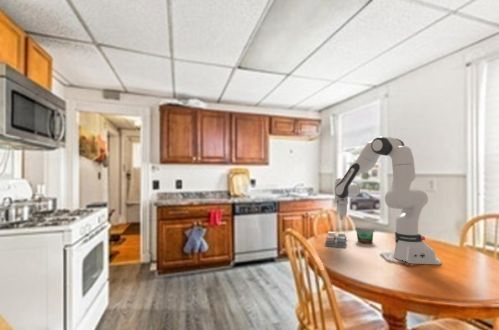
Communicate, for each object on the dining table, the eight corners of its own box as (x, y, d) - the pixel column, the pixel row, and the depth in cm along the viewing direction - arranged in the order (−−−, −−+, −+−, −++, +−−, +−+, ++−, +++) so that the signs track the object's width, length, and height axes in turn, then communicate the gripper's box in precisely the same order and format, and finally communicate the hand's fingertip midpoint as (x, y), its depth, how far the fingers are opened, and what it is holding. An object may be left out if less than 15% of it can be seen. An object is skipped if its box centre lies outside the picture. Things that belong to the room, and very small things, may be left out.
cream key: (334, 235, 196) (334, 231, 196) (334, 236, 192) (334, 233, 192) (328, 235, 198) (328, 231, 198) (328, 236, 194) (328, 232, 194)
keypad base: (346, 238, 198) (346, 235, 198) (346, 248, 172) (346, 244, 172) (327, 236, 203) (327, 233, 203) (325, 246, 176) (325, 243, 176)
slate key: (345, 241, 181) (345, 237, 181) (345, 242, 177) (345, 238, 177) (338, 240, 182) (338, 236, 182) (337, 242, 178) (337, 238, 178)
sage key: (345, 236, 194) (345, 232, 194) (345, 237, 190) (345, 234, 190) (338, 235, 195) (338, 232, 196) (338, 237, 191) (338, 233, 191)
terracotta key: (334, 240, 183) (334, 236, 183) (333, 241, 179) (333, 237, 179) (327, 239, 185) (327, 235, 185) (326, 241, 180) (326, 237, 180)
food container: (356, 243, 183) (356, 228, 184) (355, 241, 189) (355, 227, 190) (376, 244, 180) (375, 229, 180) (374, 242, 186) (374, 227, 186)
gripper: (334, 198, 204) (334, 217, 204) (338, 202, 184) (339, 222, 184) (343, 199, 203) (343, 217, 203) (348, 202, 183) (348, 222, 183)
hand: (341, 219), depth 193 cm, fingers closed
